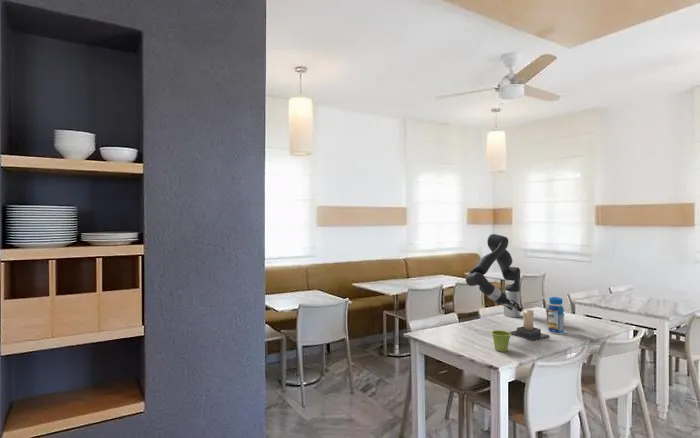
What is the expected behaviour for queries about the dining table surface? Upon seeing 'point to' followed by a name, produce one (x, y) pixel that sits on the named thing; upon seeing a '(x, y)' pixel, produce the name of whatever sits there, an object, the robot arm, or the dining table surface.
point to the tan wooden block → (528, 319)
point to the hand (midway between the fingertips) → (516, 309)
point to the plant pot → (501, 340)
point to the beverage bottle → (556, 316)
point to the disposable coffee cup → (547, 310)
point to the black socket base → (529, 334)
